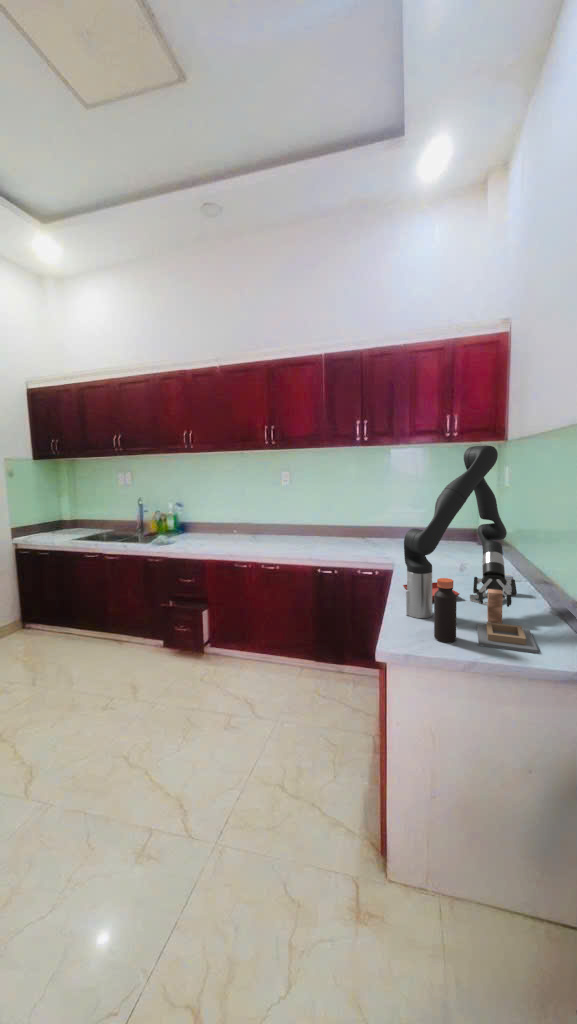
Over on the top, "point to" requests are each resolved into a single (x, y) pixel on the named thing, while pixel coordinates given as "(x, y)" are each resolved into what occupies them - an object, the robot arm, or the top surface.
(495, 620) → the terracotta post
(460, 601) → the top surface
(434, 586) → the plant saucer
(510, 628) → the socket dock
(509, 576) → the medicine box
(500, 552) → the robot arm
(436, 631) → the bottle
